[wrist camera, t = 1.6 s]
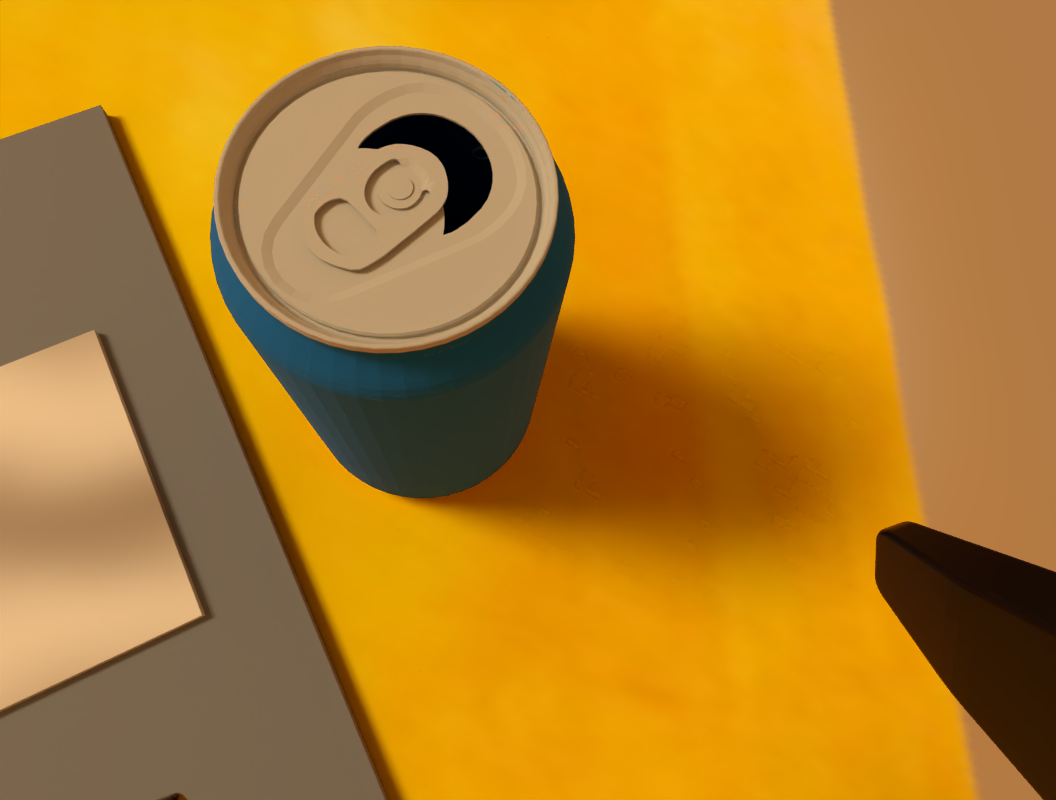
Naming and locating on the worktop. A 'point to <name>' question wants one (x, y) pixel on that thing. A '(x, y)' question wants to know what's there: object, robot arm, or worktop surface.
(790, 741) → the worktop surface
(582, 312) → the worktop surface
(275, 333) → the beverage can
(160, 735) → the mat
